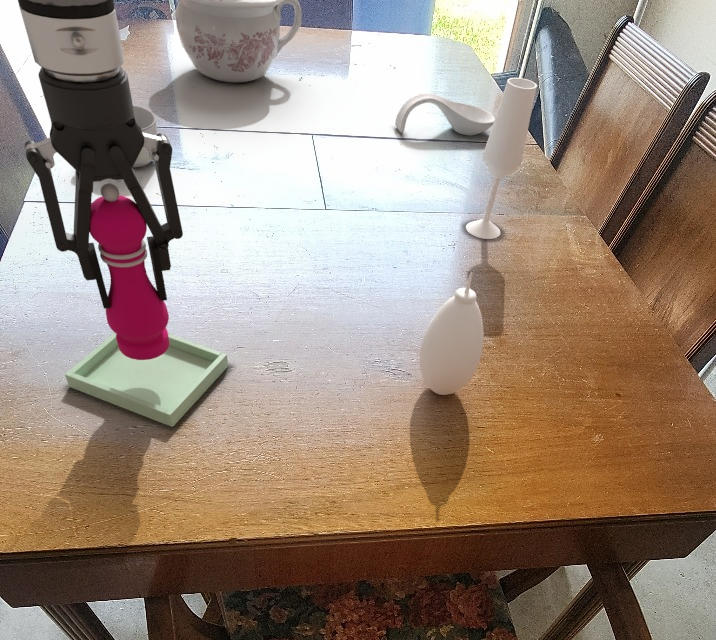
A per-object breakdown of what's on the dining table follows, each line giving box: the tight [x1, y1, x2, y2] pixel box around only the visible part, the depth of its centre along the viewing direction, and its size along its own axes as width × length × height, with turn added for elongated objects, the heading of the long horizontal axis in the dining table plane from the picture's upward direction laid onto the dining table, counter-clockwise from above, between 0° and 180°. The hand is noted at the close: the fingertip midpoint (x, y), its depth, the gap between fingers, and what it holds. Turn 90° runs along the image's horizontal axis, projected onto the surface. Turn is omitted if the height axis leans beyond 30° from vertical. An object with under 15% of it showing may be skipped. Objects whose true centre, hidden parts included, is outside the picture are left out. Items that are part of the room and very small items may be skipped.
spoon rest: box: [394, 92, 496, 136], centre depth 140 cm, size 24×12×7 cm, turn 105°
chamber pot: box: [175, 0, 303, 84], centre depth 144 cm, size 28×28×21 cm
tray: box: [64, 331, 229, 428], centre depth 80 cm, size 16×14×2 cm
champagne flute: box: [465, 77, 538, 240], centre depth 105 cm, size 7×7×24 cm
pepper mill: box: [89, 182, 170, 360], centre depth 69 cm, size 7×7×20 cm
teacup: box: [133, 104, 158, 168], centre depth 115 cm, size 14×11×8 cm
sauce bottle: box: [419, 272, 485, 396], centre depth 78 cm, size 8×8×18 cm
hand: (133, 297), depth 72 cm, fingers closed on pepper mill, 6 cm apart
